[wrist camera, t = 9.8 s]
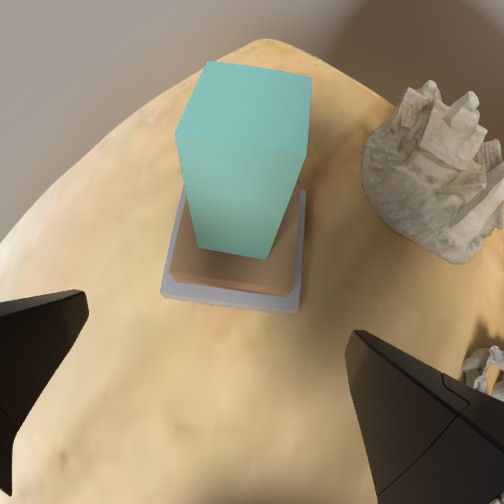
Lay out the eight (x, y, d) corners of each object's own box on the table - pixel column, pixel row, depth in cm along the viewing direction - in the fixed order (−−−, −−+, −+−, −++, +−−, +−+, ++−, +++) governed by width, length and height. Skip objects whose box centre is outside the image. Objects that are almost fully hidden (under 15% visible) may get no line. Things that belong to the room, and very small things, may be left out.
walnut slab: (295, 199, 25) (300, 182, 22) (286, 297, 22) (292, 288, 20) (197, 187, 25) (193, 169, 22) (176, 281, 22) (169, 271, 20)
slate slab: (300, 204, 27) (305, 190, 25) (292, 316, 24) (298, 311, 22) (190, 191, 27) (186, 176, 25) (167, 299, 24) (159, 292, 22)
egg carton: (464, 342, 23) (492, 335, 19) (506, 362, 22) (533, 357, 18) (428, 449, 19) (455, 457, 16) (476, 458, 19) (502, 464, 15)
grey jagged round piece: (466, 286, 25) (576, 207, 11) (331, 192, 28) (389, 55, 14) (484, 188, 30) (549, 112, 17) (381, 117, 34) (423, 19, 20)
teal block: (266, 260, 20) (306, 154, 10) (198, 247, 20) (174, 133, 10) (275, 200, 22) (311, 77, 11) (212, 189, 22) (207, 61, 11)
